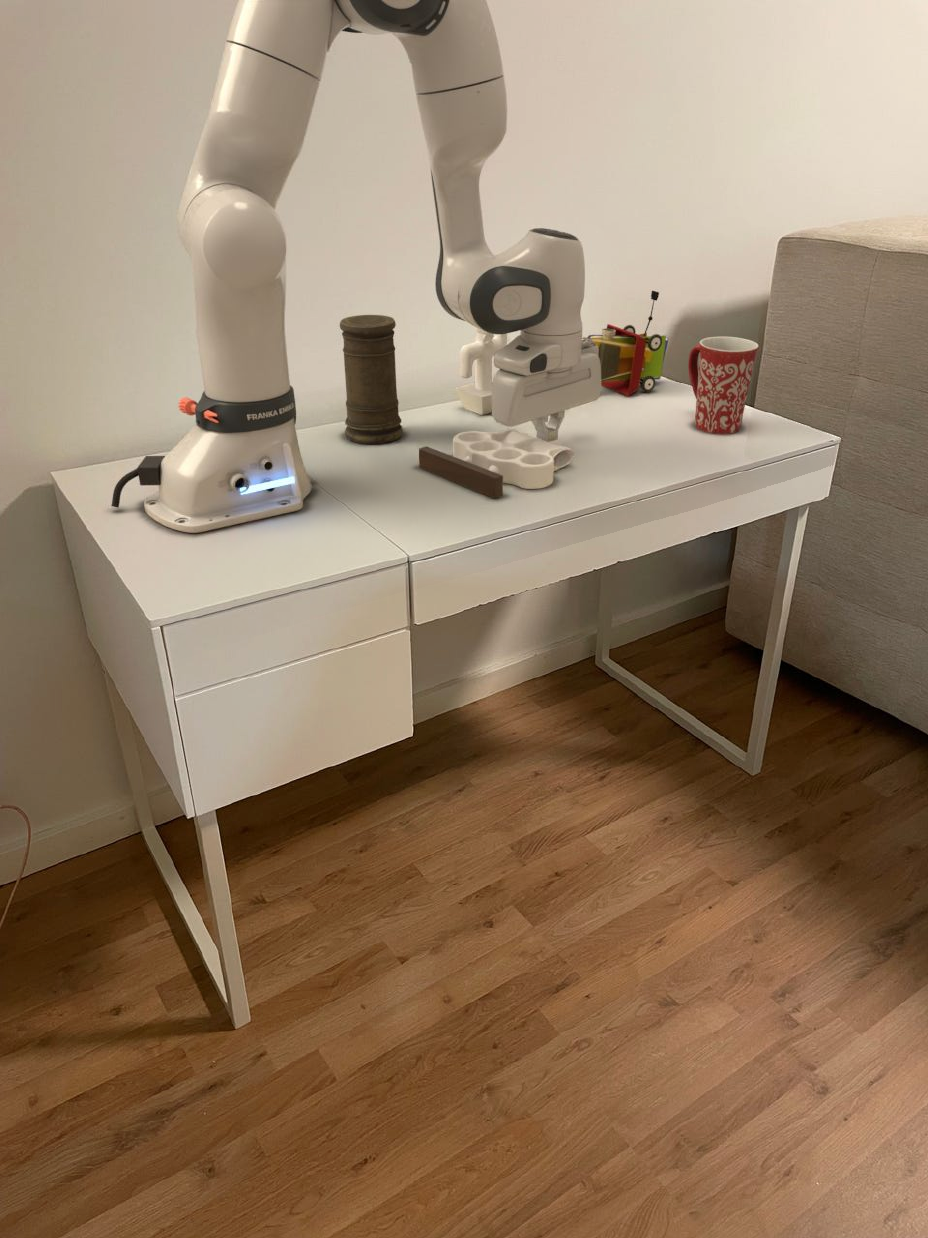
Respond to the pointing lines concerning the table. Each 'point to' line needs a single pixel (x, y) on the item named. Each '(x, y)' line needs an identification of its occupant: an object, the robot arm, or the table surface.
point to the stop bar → (461, 472)
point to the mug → (721, 382)
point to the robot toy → (630, 357)
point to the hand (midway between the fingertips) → (547, 441)
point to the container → (370, 379)
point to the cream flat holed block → (513, 456)
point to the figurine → (479, 370)
